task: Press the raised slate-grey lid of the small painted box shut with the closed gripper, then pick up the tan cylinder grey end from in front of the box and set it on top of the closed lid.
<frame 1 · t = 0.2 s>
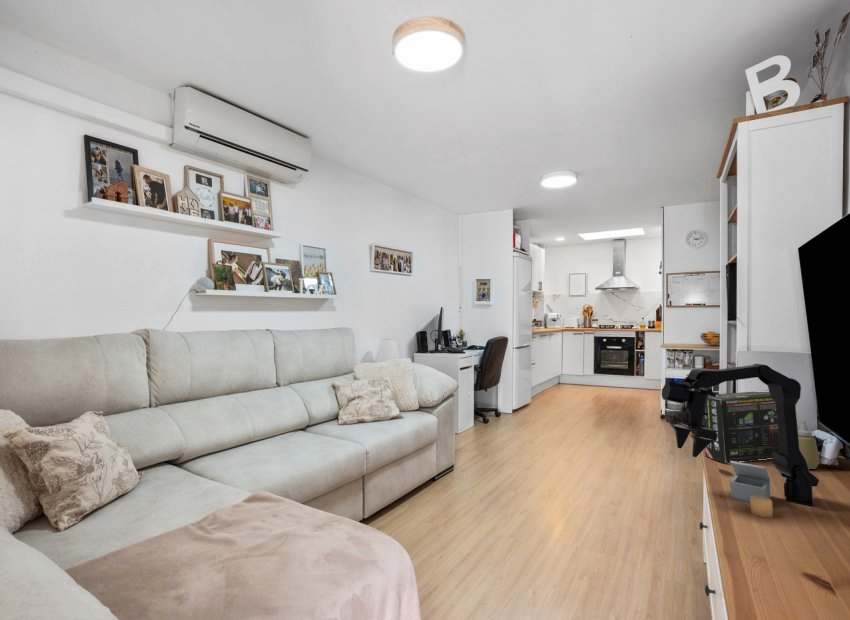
hand: (686, 452, 140), 15 cm above the tv stand, tool pointing down, fingers open, 9 cm apart
router box: (749, 457, 179), on the tv stand
box lid: (750, 470, 140), point 9 cm above the tv stand, hinge at 40.0°
squeeze bottle: (806, 468, 164), on the tv stand
tan cylinder grey end: (761, 513, 128), on the tv stand
box: (750, 498, 139), on the tv stand
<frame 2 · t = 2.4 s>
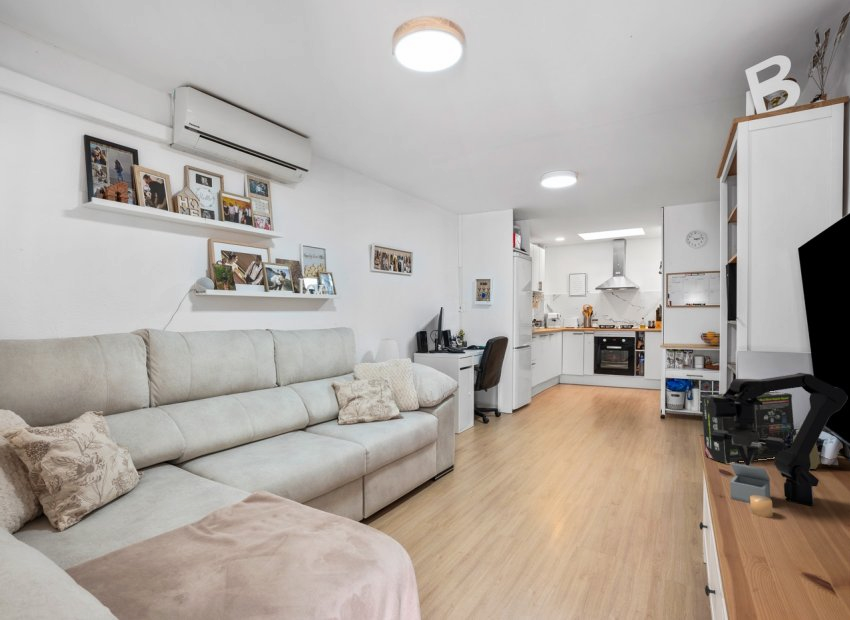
hand: (747, 466, 138), 11 cm above the tv stand, tool pointing down, fingers closed, pressing on box lid
box lid: (749, 471, 140), point 8 cm above the tv stand, hinge at 36.5°, touching gripper
everything else where it was.
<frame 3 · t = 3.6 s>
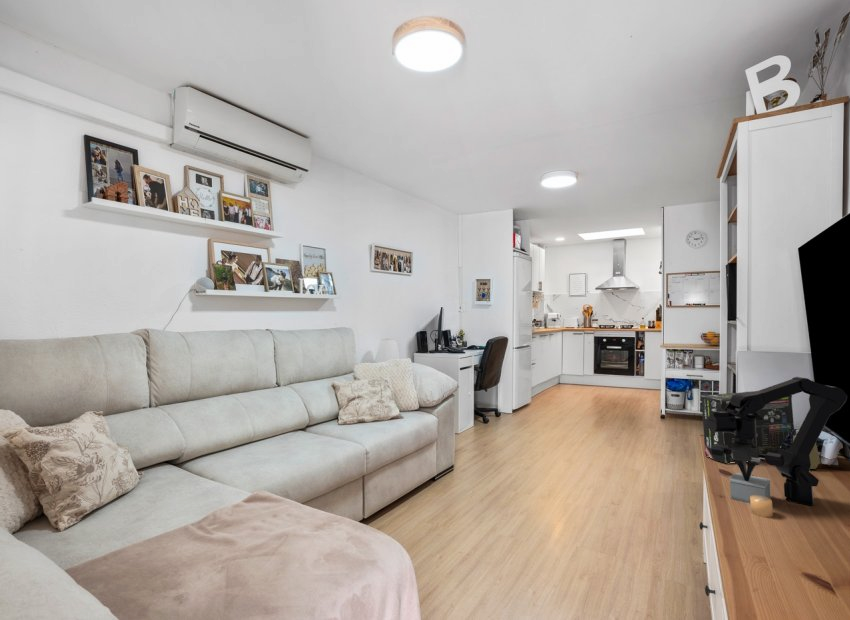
hand: (746, 481, 138), 6 cm above the tv stand, tool pointing down, fingers closed, pressing on box lid
box lid: (749, 480, 139), point 6 cm above the tv stand, hinge at 1.3°, touching box, gripper
everything else where it was.
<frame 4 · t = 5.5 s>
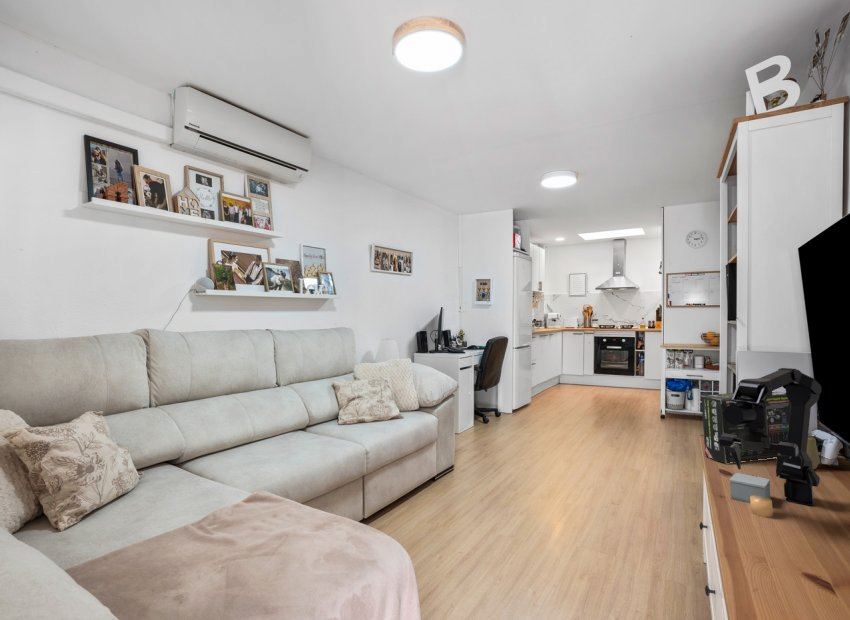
hand: (758, 472, 129), 12 cm above the tv stand, tool pointing down, fingers open, 9 cm apart
box lid: (749, 480, 139), point 6 cm above the tv stand, hinge at 1.1°
everything else where it was.
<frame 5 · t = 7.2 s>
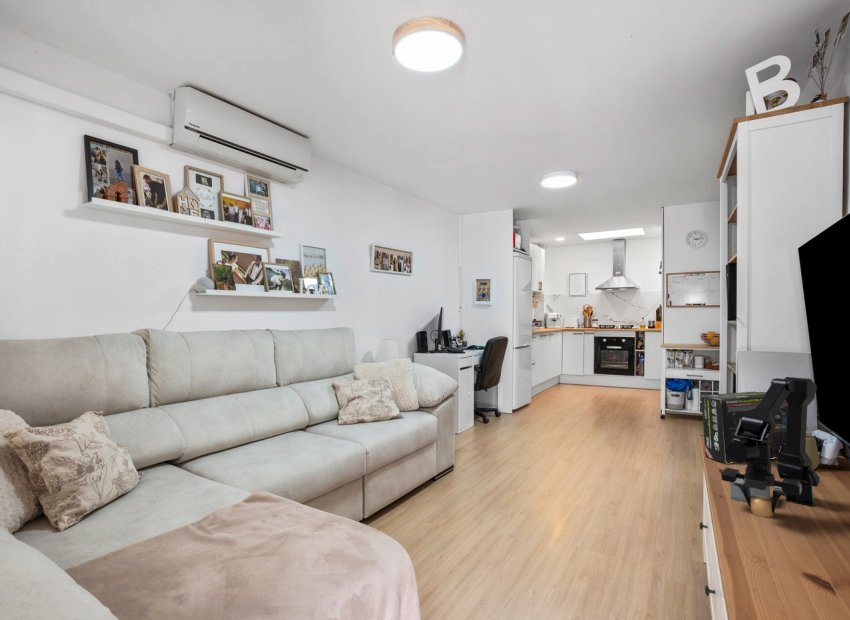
hand: (761, 509, 128), 1 cm above the tv stand, tool pointing down, fingers closed on tan cylinder grey end, 5 cm apart
tan cylinder grey end: (761, 513, 128), on the tv stand, touching gripper
everything else where it was.
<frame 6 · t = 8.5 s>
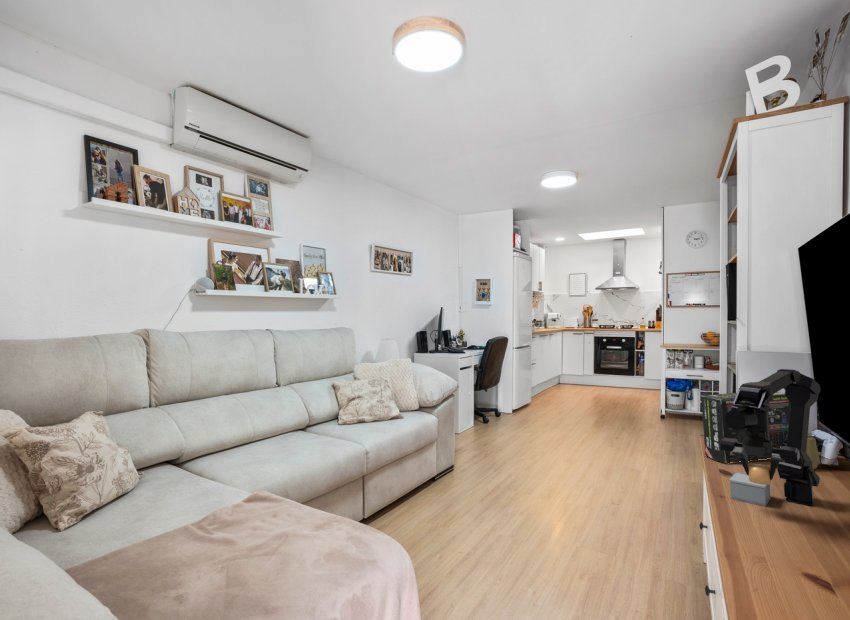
hand: (759, 477, 128), 11 cm above the tv stand, tool pointing down, fingers closed on tan cylinder grey end, 5 cm apart
tan cylinder grey end: (759, 481, 128), point 10 cm above the tv stand, touching gripper
everything else where it was.
when the fingers open (9 cm above the tv stand, at t = 10.2 s): tan cylinder grey end drops 1 cm, resting on box lid.
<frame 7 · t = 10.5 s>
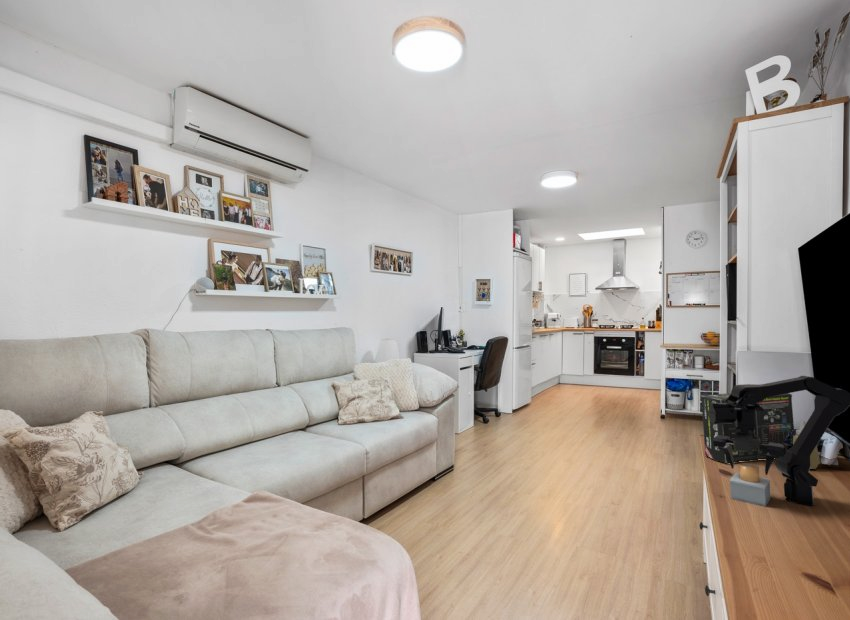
hand: (749, 471, 139), 9 cm above the tv stand, tool pointing down, fingers open, 9 cm apart
box lid: (749, 480, 139), point 6 cm above the tv stand, hinge at 0.0°, touching box, tan cylinder grey end
tan cylinder grey end: (749, 479, 139), point 6 cm above the tv stand, touching box lid
everything else where it was.
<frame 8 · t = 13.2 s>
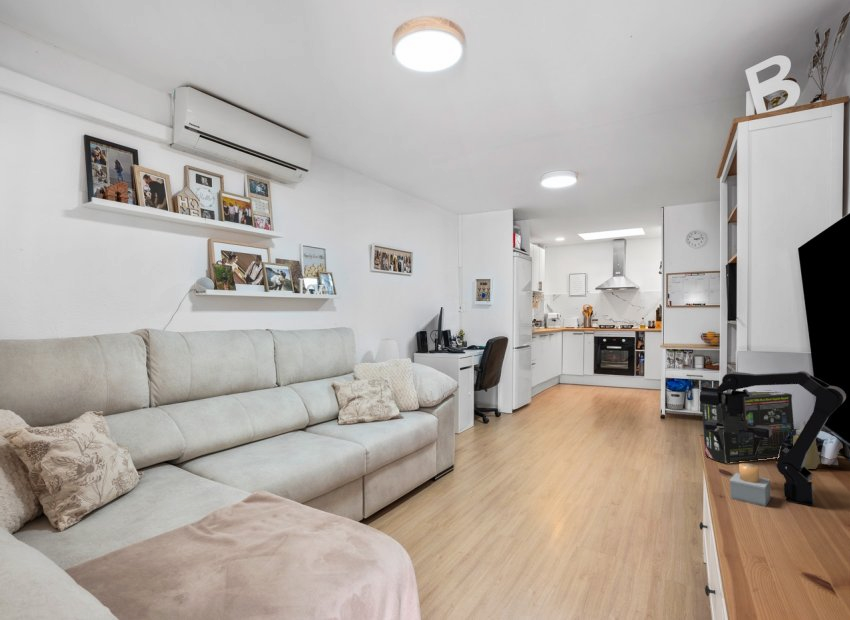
hand: (738, 452, 149), 12 cm above the tv stand, tool pointing down, fingers open, 9 cm apart
nothing on the tv stand moved.
at the end: box lid at +0° (first picture: +40°); tan cylinder grey end 0.0 cm off-centre on the box, point 6.1 cm above the box's base; the gripper is holding nothing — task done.
